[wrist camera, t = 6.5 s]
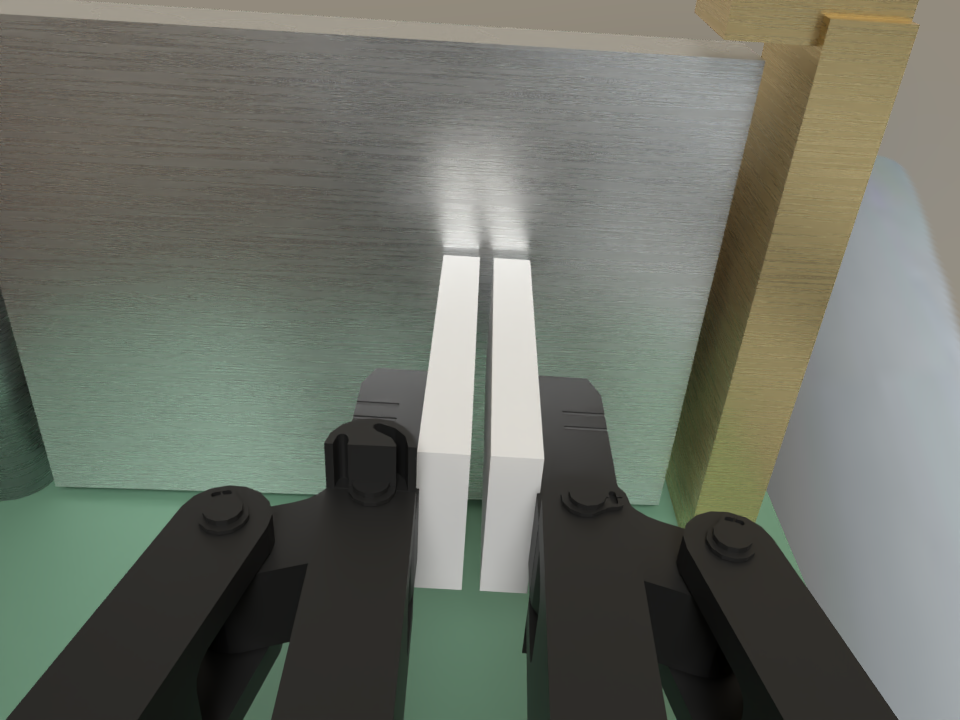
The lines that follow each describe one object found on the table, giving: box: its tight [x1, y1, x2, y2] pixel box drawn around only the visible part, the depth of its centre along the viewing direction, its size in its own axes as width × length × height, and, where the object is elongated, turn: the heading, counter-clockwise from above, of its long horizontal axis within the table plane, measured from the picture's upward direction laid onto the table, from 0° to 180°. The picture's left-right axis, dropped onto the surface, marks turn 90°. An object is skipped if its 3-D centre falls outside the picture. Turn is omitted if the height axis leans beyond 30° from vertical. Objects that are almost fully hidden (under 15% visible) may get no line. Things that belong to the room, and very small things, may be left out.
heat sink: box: [0, 0, 920, 528], centre depth 21 cm, size 19×11×13 cm, turn 90°
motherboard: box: [0, 480, 805, 720], centre depth 22 cm, size 22×22×2 cm
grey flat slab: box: [0, 0, 765, 505], centre depth 19 cm, size 15×2×11 cm, turn 91°
